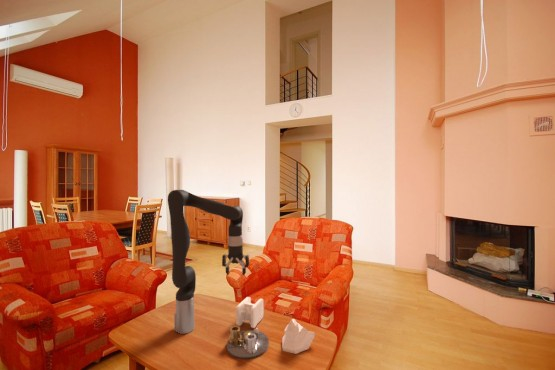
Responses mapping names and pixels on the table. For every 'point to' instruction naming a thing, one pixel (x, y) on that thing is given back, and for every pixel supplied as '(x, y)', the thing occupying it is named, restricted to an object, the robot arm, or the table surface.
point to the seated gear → (235, 335)
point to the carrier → (239, 349)
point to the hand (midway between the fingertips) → (235, 274)
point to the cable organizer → (249, 312)
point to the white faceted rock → (296, 338)
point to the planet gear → (251, 344)
